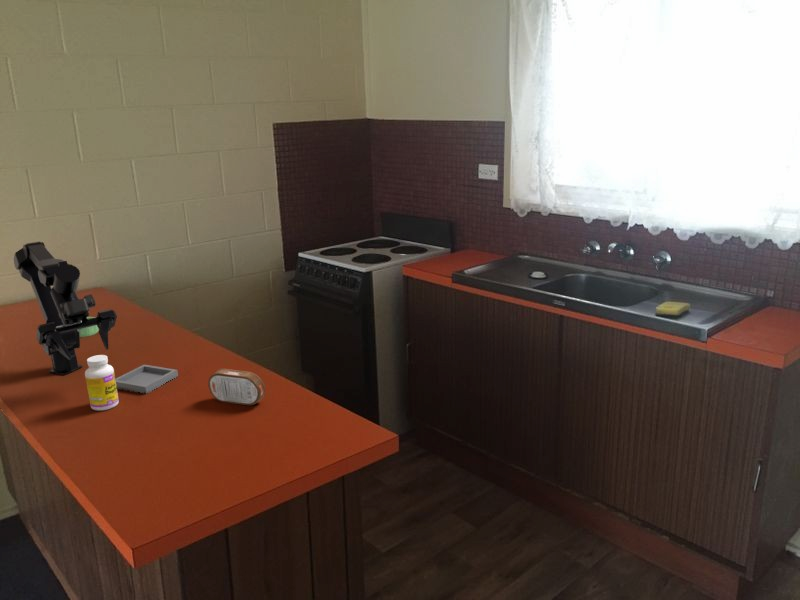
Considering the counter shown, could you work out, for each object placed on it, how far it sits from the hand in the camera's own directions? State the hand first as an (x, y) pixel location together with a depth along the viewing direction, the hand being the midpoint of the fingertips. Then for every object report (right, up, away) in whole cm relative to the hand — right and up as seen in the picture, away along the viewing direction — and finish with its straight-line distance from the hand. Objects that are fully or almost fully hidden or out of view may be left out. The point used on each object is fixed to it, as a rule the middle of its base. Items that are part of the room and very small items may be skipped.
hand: (89, 353), depth 172 cm
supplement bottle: (+5, -13, -1) cm, 14 cm away
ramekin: (-26, +2, +54) cm, 60 cm away
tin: (+38, -12, -2) cm, 40 cm away
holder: (+10, -9, +13) cm, 18 cm away
